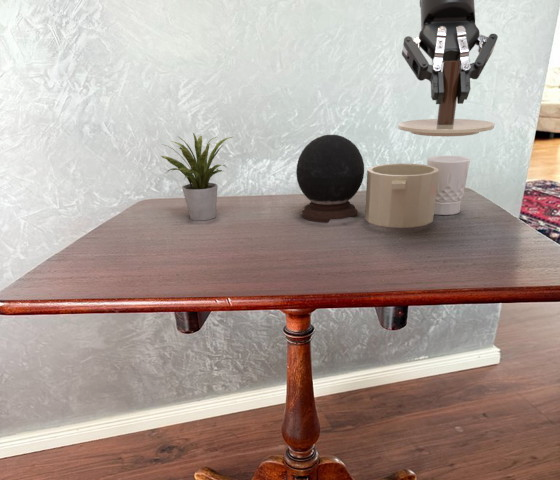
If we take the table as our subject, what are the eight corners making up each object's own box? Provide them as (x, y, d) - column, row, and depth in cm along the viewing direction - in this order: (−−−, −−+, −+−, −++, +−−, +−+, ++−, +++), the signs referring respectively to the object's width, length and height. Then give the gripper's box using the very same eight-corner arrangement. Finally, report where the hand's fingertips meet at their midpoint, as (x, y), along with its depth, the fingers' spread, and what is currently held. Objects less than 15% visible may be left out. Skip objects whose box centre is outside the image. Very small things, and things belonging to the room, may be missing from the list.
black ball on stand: (284, 215, 111) (281, 135, 103) (332, 204, 118) (333, 129, 110) (326, 227, 102) (327, 141, 94) (376, 215, 108) (380, 133, 101)
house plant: (222, 204, 121) (215, 124, 113) (253, 216, 111) (248, 129, 102) (162, 215, 114) (150, 130, 106) (190, 228, 104) (179, 136, 96)
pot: (433, 211, 110) (439, 161, 105) (431, 236, 95) (437, 179, 90) (371, 209, 113) (373, 160, 108) (359, 233, 98) (361, 178, 93)
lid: (490, 126, 84) (500, 58, 79) (496, 138, 72) (509, 60, 68) (400, 126, 87) (405, 61, 82) (393, 138, 76) (398, 63, 71)
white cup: (448, 218, 104) (455, 163, 99) (414, 211, 110) (419, 159, 105) (470, 210, 109) (478, 157, 104) (436, 204, 114) (442, 154, 109)
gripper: (402, -22, 77) (404, 80, 73) (503, -26, 76) (511, 77, 71) (395, 24, 84) (397, 119, 80) (487, 21, 83) (494, 117, 79)
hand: (451, 99), depth 76 cm, fingers closed on lid, 2 cm apart
